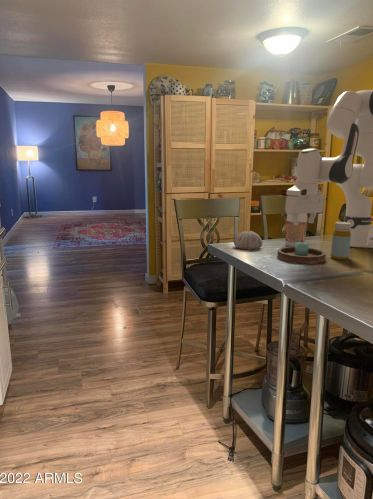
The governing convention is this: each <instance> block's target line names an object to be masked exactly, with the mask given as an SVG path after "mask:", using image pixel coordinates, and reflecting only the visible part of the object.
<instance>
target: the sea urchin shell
mask: <svg viewBox="0 0 373 499" xmlns="http://www.w3.org/2000/svg"><path fill="white" fill-rule="evenodd" d="M263 244H264V243H263V239H262V238H261V236H260V235H259V234H258V233H257V232H254V231H252V230H244V231H242V232H240V233H239V234H238V235H236V237H235V238H234V239H233V245H234V246H235V247H236V248H238V249H241V250H250V251H251V250H258V249H260V248H262V246H263Z"/></svg>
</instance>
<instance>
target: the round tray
mask: <svg viewBox="0 0 373 499" xmlns="http://www.w3.org/2000/svg"><path fill="white" fill-rule="evenodd" d="M276 254H277V259H279V260H282V261H285V262H286V263H287V262H288V263H294V264H303V265H311V264H313V265H314V264H315V265H316V264H322V263H324V262H325V261H326V256H327V253H326V252H325V251H324V250H321V249H317V248H313V247H312V248H311V247H308V256H297V255H295V247H290V246H285V247H280V248H278V249H277V253H276Z"/></svg>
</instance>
